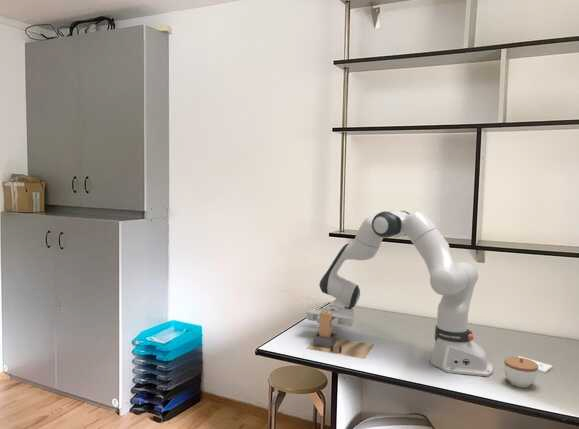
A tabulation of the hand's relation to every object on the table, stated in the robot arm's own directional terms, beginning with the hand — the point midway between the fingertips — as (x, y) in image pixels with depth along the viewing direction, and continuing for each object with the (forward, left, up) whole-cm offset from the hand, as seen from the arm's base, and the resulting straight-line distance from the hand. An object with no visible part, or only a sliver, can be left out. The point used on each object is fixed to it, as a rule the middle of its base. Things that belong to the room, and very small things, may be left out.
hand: (325, 322), depth 199 cm
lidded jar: (-73, +3, -11) cm, 74 cm away
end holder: (0, -1, -10) cm, 10 cm away
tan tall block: (0, -1, -8) cm, 8 cm away
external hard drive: (-79, -17, -11) cm, 81 cm away
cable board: (-7, -1, -11) cm, 13 cm away
